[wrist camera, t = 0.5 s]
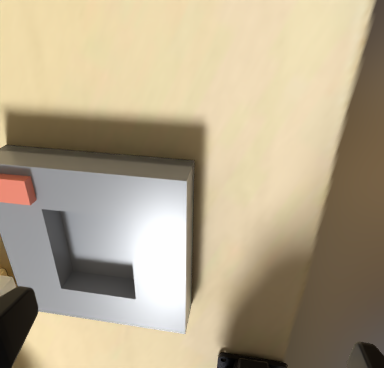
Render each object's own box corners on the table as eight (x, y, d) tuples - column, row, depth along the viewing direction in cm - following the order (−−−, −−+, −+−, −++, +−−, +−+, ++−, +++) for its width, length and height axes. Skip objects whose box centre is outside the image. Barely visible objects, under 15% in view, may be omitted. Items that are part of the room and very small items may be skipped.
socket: (191, 304, 29) (183, 341, 26) (44, 283, 31) (20, 315, 28) (194, 160, 22) (184, 186, 19) (6, 144, 24) (-32, 166, 21)
